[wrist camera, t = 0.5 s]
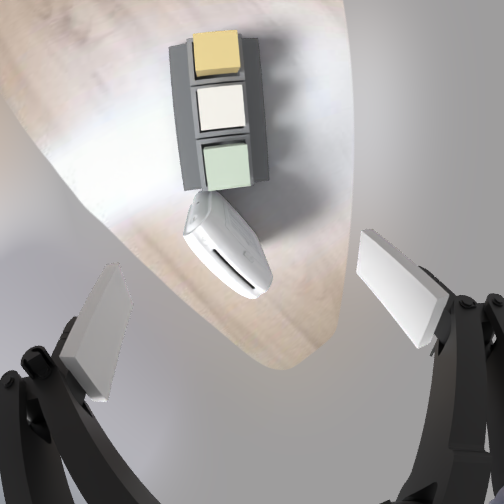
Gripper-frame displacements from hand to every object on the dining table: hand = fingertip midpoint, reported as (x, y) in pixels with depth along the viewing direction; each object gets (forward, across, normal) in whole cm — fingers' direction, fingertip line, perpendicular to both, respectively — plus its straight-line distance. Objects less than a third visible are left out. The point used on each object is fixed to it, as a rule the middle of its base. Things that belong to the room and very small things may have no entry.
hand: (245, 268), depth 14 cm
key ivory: (+16, 0, +9) cm, 18 cm away
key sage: (+16, 0, +3) cm, 16 cm away
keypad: (+21, 0, +9) cm, 22 cm away
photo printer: (+21, 0, -5) cm, 22 cm away
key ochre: (+16, 0, +15) cm, 22 cm away
